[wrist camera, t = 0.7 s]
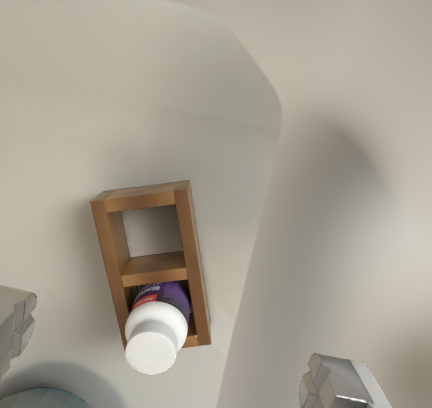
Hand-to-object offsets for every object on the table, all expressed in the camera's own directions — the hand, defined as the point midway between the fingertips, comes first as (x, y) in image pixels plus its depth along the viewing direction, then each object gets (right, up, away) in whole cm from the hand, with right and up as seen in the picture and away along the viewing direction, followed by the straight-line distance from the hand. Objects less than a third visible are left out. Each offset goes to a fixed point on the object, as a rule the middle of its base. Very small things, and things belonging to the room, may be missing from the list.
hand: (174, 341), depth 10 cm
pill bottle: (-4, -5, +26) cm, 27 cm away
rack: (-4, -2, +25) cm, 25 cm away
